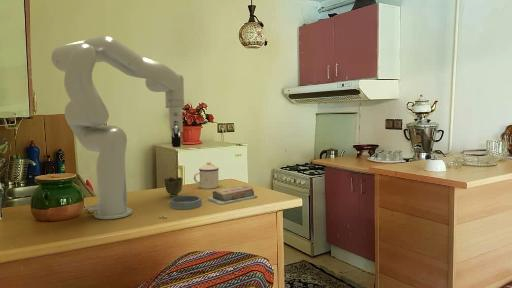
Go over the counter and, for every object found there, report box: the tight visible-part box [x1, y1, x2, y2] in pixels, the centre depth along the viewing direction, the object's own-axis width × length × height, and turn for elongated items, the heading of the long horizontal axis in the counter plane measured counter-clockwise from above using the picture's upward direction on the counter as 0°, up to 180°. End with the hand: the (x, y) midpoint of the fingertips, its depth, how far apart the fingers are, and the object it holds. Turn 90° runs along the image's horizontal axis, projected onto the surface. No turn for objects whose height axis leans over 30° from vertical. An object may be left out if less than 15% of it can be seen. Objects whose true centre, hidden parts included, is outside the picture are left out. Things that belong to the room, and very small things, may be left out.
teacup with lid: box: [193, 161, 220, 190], centre depth 183 cm, size 12×9×12 cm
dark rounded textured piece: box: [164, 176, 183, 199], centre depth 165 cm, size 8×7×8 cm
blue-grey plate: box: [169, 194, 203, 211], centre depth 152 cm, size 12×12×2 cm
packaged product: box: [207, 185, 258, 206], centre depth 161 cm, size 18×5×10 cm
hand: (176, 145), depth 165 cm, fingers open, 9 cm apart
